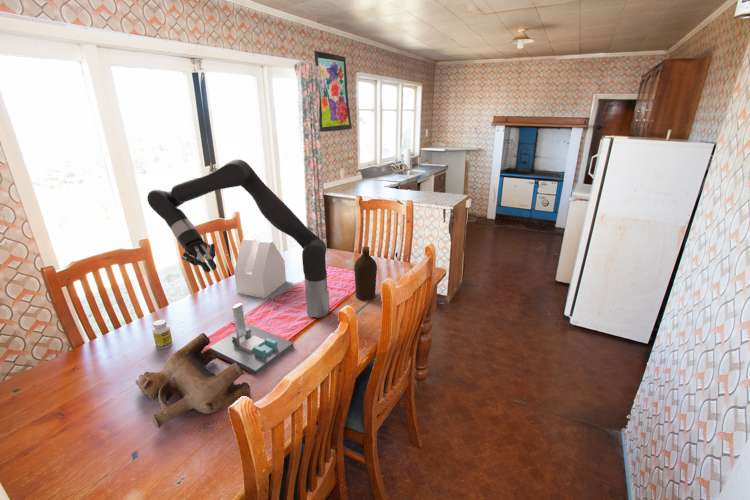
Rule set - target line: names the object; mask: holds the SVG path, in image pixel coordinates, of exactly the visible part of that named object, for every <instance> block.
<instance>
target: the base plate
mask: <svg viewBox="0 0 750 500" xmlns="http://www.w3.org/2000/svg"><path fill="white" fill-rule="evenodd" d="M245 329H246V335H245V336H243V337H241V338H240V339H239V336H237V334H236V331H234V332H232V333H231V334H229V335H227V336H225V337H223V338H222V339H221V340H219V341H217V342H215V343H213V344H212V345H211V346H209V347H208V348H211V349H212V350H213V351H214V352H215V353H216V356H217V357H219V358H221V359H223V360H225V361H227V362H229V363H231V364H233V363H235V362H236V363H237V364H238V365H239V367H240V368H241V369H243V370H244V371H247V372H249V373H251V374H253V375H255V376H258V375H259V374H260V373H262V372H263V371H264V370H266V369H267V368H268V367H270V366H271V365H272V364H274V363H275V362H276V361H278V359H280V358H282V357H283V356H284V355H285V354H286V353H288V352H290V351H291V350H292V349H294V342H293V341H290V340H288V339H285V338H284V337H280V336H279V335H276V334H273V333H271V332H269V331H266V330H264V329H261V328H260V327H257V326H254V325H252V324H250V323H248V324H245Z"/></svg>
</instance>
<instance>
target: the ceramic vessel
mask: <svg viewBox="0 0 750 500" xmlns="http://www.w3.org/2000/svg"><path fill="white" fill-rule="evenodd" d="M209 344H211V340H210V338H209V337H208V336H207V334H205V332H202V333H200V334H199V335H198V336H196V337H195V338H193V339H192V340H191V341H189V342H188V343H187V344H186V345H184V346H183V347H181V348H180V349H178V350H177V351H175V352H174V353H173V354H172V355H171V356H170V357H168V359H167V361H166V362H165V364H164V366H163V368H162V370H161V371H158V372H154V371H153V372H149V371H145V372H144V373H143V374H139V376H138V379H136V380H135V384H136V385H137V386H138V389H139V390H140V392H141V393H142V394H143V395H146V396H147V397H148V399H150V400H151V401H152V400H155V399H157V396H158V402H159V403H158V404H159V405H160V408H161V410H160V411H159V412H157V413H154V414H153V415H152V420H153V423H154V425H155V427H156V428H158V429H160V427H162V426H163V425H164V424H165V423H167V422H169V421H171V420H172V419H175V418H177V417H178V416H181V415H182V414H184V413H186V412H188V411H190V410H192V409H195V410H196V411H197V412H200V413H202V414H207V415H208V414H213V413H215V412H217V411H219V410H221V409H222V408H225V407H227V406H229V405H231V404H233V403H235V402H237V401H238V400H237V399H238V398H240V397H241V396H244V397H245V396H246V395H248V394H251V387H250V384H249V383H248V382H247V381H244V382H241V383H238V384H237V383H235V381H237V380H238V379H239V378H241V377H242V376H243V375H244V372H243V370H242V368H241V367H239V365H238V364H237V363H236V362H235V363H231V364H230V365H229V366H228V367H227V368H225V369H223V370H222V371H221V372H218V373H217V374H215V373H213V372H212V371H211V370H210V369H208V367H207V365H208V364H210V363H211V362H212V361H214V360H217V359H218V356H217V355H216V353H215V352H214V351H213V350H212V349H211V348H209V347H208V348H206V347H207V346H209ZM205 348H206V349H205ZM178 393H180V395H181V396H182V397H183V398H180V399H179V400H177V401H175V402H174V403H169V401H170V399H171V398H172V397H173V396H174V395H175V394H178ZM236 400H237V401H236Z"/></svg>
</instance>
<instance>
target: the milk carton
mask: <svg viewBox="0 0 750 500" xmlns="http://www.w3.org/2000/svg"><path fill="white" fill-rule="evenodd" d="M285 261H286V260H285V259H284V257H283V256H282V254H281V252H280V251H279V249H278V248H277V246H276V244H275V243H274V241H272V240H265V239H261V240H260V241H259V242H258V241H257V239H255V238H251V237H250V238H249V237H244V238H242V241H241V243H240V248H239V251H238V255H237V259H236V264H235V267H234V273H233V274H234V280H235V287H236V294H240V295H245V296H252V297H258V298H263V299H266V298H267V297H268V296H270V295H271V294H272V293H273V292H275V291H276V290H277V289H278V288H280V287H281V286H282V285H284V283H286V282H287V273H286V263H285Z"/></svg>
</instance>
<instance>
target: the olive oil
mask: <svg viewBox="0 0 750 500" xmlns="http://www.w3.org/2000/svg"><path fill="white" fill-rule="evenodd" d="M361 249H362V250H361V255H360V256H359V257H358V259H357V260H355V263H354V266H353V269H354V271H353V272H354V283H355V286H354V287H355V290H354V291H355V298H356V299H357V300H359V301H365V300H368V301H372V300H373V298H374V297H375V298H376V288H377V274H378V272H377V271H378V266H377V262H376V260H375V259H374V258H373V257H372V256H371V255H370V247H369V246H362V248H361ZM375 298H374V299H375Z"/></svg>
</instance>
